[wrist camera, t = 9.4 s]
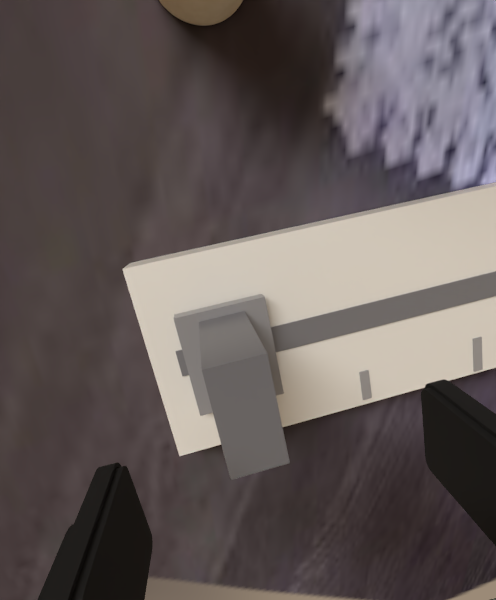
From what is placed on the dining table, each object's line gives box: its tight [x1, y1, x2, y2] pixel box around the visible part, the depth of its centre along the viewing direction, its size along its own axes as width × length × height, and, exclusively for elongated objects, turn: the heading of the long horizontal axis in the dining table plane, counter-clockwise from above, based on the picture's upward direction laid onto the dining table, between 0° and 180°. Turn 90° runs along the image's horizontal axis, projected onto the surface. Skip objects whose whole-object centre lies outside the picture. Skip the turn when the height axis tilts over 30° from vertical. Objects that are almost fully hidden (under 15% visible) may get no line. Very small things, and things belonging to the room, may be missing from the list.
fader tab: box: [173, 294, 290, 480], centre depth 17 cm, size 5×6×7 cm
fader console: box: [123, 182, 496, 456], centre depth 22 cm, size 25×12×3 cm, turn 102°
